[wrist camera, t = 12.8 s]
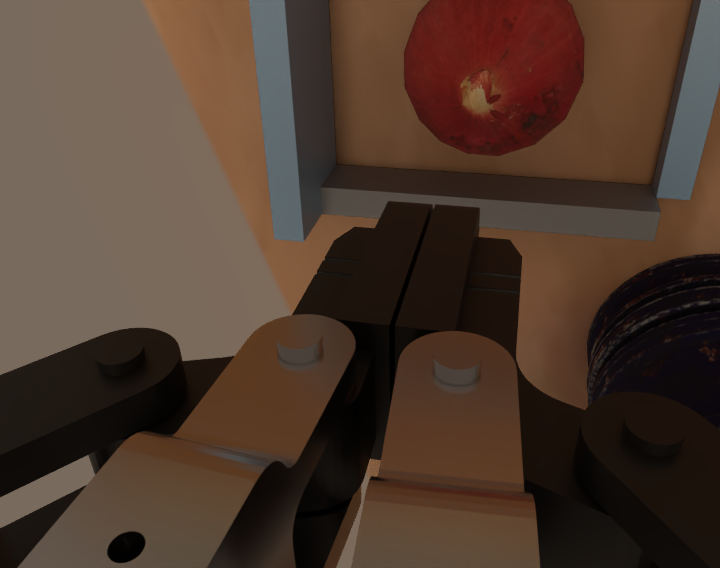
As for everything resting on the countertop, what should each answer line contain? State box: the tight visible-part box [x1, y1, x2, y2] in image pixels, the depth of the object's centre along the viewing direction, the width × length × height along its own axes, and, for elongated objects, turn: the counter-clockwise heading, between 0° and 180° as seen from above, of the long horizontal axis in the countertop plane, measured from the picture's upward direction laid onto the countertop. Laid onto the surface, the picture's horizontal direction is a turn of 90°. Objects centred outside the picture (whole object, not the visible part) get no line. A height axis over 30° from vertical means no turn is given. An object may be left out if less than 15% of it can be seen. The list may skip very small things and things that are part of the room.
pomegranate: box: [404, 0, 584, 156], centre depth 22 cm, size 6×6×8 cm
